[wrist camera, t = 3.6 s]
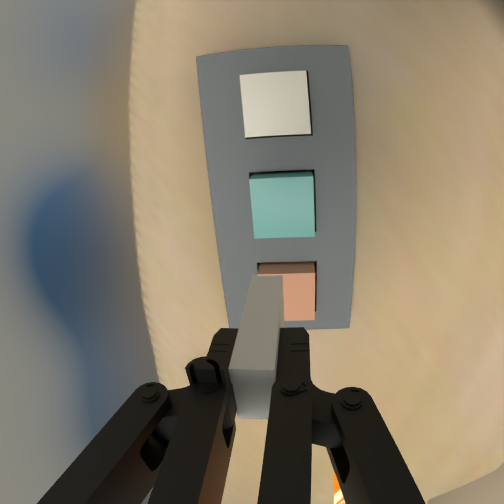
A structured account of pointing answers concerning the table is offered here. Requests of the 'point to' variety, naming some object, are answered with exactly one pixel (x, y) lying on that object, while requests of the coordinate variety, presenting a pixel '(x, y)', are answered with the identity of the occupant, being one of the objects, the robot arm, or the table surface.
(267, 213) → the teal button
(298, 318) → the terracotta button
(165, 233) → the table surface
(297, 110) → the cream button
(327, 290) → the panel
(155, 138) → the table surface
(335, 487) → the orange juice
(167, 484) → the robot arm
